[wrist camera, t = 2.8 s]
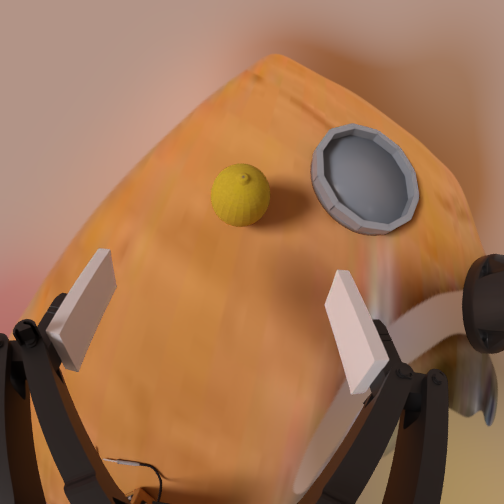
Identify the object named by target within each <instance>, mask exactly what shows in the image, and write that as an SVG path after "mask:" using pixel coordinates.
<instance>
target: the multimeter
mask: <svg viewBox="0 0 504 504" xmlns="http://www.w3.org/2000/svg"><path fill="white" fill-rule="evenodd" d="M104 460H107V461H113V462H117V464H125V465H133V466H140V465H141V466H147V467H150V468H152V469H153V470H154V471H155V472H156V474H157V476H158V478H159V481H160V489H159V495H158V499H157V502H159V501H160V497H161V492H162V480H161V477H160V475H159V473H158V472H157V470H156V469H155V468H154V467H152V466H151V465H147V464H141V463H137V462H131V461H123V460H119V459H117V461H116V460H110V459H104ZM125 496H126V497H127V498H128V500H129V501H130V502H131V504H152V501H156V500H154V499H153V498H152V497H151V496H150V495H148V494H147V493H146V492H145V491H144V490H143V489H141V488H138V489H135V490H134V491H132V492H130V493H128V494H126V495H125Z"/></svg>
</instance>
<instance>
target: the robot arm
mask: <svg viewBox="0 0 504 504" xmlns="http://www.w3.org/2000/svg"><path fill="white" fill-rule="evenodd" d="M116 287H117V285H116V280H115V275H114V269H113V264H112V258H111V251H110V249H101V248H99V249H98V250H97V252H96V253H95V254H94V256H93V257H92V259H91V260H90V261H89V263H88V264H87V266H86V267H85V269H84V270H83V272H82V273H81V274H80V276H79V277H78V279H77V280H76V282H75V283H74V285H73V287H72V288H71V290H70V291H69V293H68V294H66V293H61V294H60V295H59V296H57V297H56V298H55V299H54V301H53V302H52V304H51V305H50V307H49V308H48V310H47V312H46V313H45V315H44V316H43V318H42V320H41V321H40V323H39V325H38V326H36V324H35V322H34V321H33V320H30V319H25V320H22V321H20V322H18V323H17V324H16V325H15V327H14V329H13V335H14V337H15V338H16V340H13V341H9V339H8V337H7V336H6V335H5V334H2V333H0V504H46V501H45V497H44V493H43V489H42V485H41V480H40V476H39V471H38V466H37V460H36V454H35V448H34V440H33V432H32V422H31V410H30V393H31V397H32V401H33V404H34V407H35V411H36V414H37V417H38V420H39V423H40V426H41V428H42V431H43V434H44V437H45V439H46V442H47V444H48V447H49V449H50V452H51V454H52V457H53V459H54V461H55V463H56V466H57V468H58V470H59V472H60V474H61V476H62V478H63V480H64V483H65V486H64V491H65V494H66V496H67V498H68V500H69V502H70V503H71V504H131V502H130V501H129V500H128V498H127V497H126V496H125V494H124V493H123V492H122V491H121V490H120V489H119V488H118V486H117V485H116V483H115V482H114V480H113V479H112V477H111V476H110V474H109V472H108V471H107V469H106V467H105V466H104V464H103V462H102V460H101V459H100V457H99V455H98V453H97V451H96V450H95V448H94V446H93V444H92V442H91V440H90V438H89V436H88V434H87V432H86V430H85V428H84V426H83V424H82V422H81V419H80V417H79V415H78V413H77V410H76V408H75V406H74V403H73V401H72V399H71V396H70V394H69V391H68V389H67V386H66V383H65V381H64V378H63V375H62V372H61V370H60V368H59V367H60V364H61V362H62V363H63V365H64V367H65V368H66V369H69V370H72V371H76V372H79V369H80V367H81V364H82V362H83V359H84V357H85V354H86V352H87V350H88V347H89V345H90V343H91V340H92V338H93V336H94V334H95V331H96V329H97V327H98V325H99V323H100V320H101V318H102V316H103V314H104V312H105V310H106V308H107V306H108V304H109V302H110V299H111V297H112V295H113V293H114V291H115V289H116ZM325 308H326V311H327V314H328V317H329V321H330V324H331V327H332V330H333V333H334V337H335V340H336V343H337V347H338V350H339V353H340V357H341V360H342V364H343V367H344V371H345V374H346V378H347V381H348V385H349V388H350V392H351V394H359V393H365V392H366V391H367V389H368V388H369V387H370V389H371V392H372V393H371V394H370V396H369V397H368V398H367V399H366V400H365V402H364V403H363V404H365V405H364V406H363V408H362V410H361V412H360V414H359V415H358V417H357V419H356V421H355V422H354V424H353V426H352V427H351V429H350V431H349V432H348V434H347V436H346V437H345V439H344V440H343V442H342V443H341V445H340V447H339V448H338V450H337V451H336V453H335V454H334V456H333V457H332V459H331V460H330V462H329V463H328V464H327V466H326V467H325V469H324V470H323V472H322V473H321V474H320V476H319V477H318V478H317V480H316V481H315V482H314V484H313V485H312V486H311V488H310V489H309V490H308V492H307V493H306V494H305V495H304V497H303V498H302V499H301V500H300V501H299V502H298V503H297V504H355V503H356V501H357V499H358V497H359V496H360V494H361V493H362V491H363V489H364V488H365V486H366V484H367V483H368V481H369V479H370V477H371V475H372V474H373V472H374V470H375V468H376V466H377V464H378V463H379V460H380V459H381V457H382V455H383V453H384V451H385V449H386V447H387V445H388V442H389V440H390V438H391V436H392V434H393V432H394V429H395V427H396V425H397V422H398V420H399V418H400V422H399V429H398V435H397V441H396V447H395V452H394V457H393V462H392V467H391V471H390V476H389V479H388V484H387V487H386V491H385V495H384V499H383V502H382V504H440V500H441V494H442V488H443V481H444V474H445V465H446V455H447V441H448V381H447V377H446V375H445V374H444V373H443V372H442V371H440V370H438V369H431V370H430V371H429V372H428V373H427V374H421V373H415V372H414V371H413V370H412V368H411V367H410V366H409V365H407V364H406V363H403V362H401V359H400V358H399V355H398V353H397V351H396V348H395V346H394V344H393V341H391V340H392V339H391V337H390V335H389V333H388V331H387V329H386V326H385V325H384V324H383V323H382V322H381V321H380V320H372V318H371V316H370V314H369V312H368V310H367V307H366V305H365V303H364V301H363V299H362V297H361V295H360V293H359V290H358V288H357V286H356V284H355V282H354V280H353V278H352V276H351V274H350V272H349V271H347V270H337V271H336V274H335V277H334V280H333V283H332V286H331V289H330V291H329V294H328V297H327V300H326V302H325ZM462 311H463V321H464V327H465V331H466V335H467V337H468V340H469V342H470V343H471V345H472V346H473V348H474V349H475V350H477V351H478V352H480V353H489V354H493V353H499V352H501V351H503V350H504V255H499V254H491V255H487V256H484V257H481V258H479V259H477V260H476V261H475V262H474V263H473V265H472V266H471V268H470V270H469V272H468V274H467V277H466V281H465V285H464V290H463V300H462ZM152 504H168V503H162V502H156V501H152Z"/></svg>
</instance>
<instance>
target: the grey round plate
mask: <svg viewBox="0 0 504 504" xmlns="http://www.w3.org/2000/svg"><path fill="white" fill-rule="evenodd" d="M414 171H415V170H414V168H413V167H412V165H411V164H410V162H409V160H408V159H407V157H406V155H405V154H404V152H403V151H402V149H401V148H400V147H399V146H398V145H397V144H395V143H394V142H393V141H392V140H390V139H389V138H388V137H386V136H385V135H384V134H382V133H381V132H380V131H378V130H376V129H372V128H368V127H365V126H361V125H357V124H348V125H344V126H340V127H336V128H332V129H330V130H329V131H328V133H327V134H326V135H325V137H324V138H323V139H322V141H321V142H320V143H319V145H318V146H317V148H316V149H315V151H314V153H313V158H312V162H311V171H310V173H311V181H312V186H313V189H314V191H315V194H316V196H317V198H318V200H319V202H320V203H321V205H322V206H323V208H324V209H325V210H326V211H327V213H328V214H329V215H330V216H331V217H332V218H333V219H334V220H336V221H337V222H338V223H339V224H341V225H342V226H344V227H345V228H347V229H349V230H351V231H353V232H356V233H359V234H363V235H371V236H374V235H381V234H382V235H385V234H386V233H388V232H390V231H392V230H394V229H395V228H397V227H399V226H401V225H403V224H404V223H406V222H408V221H410V220H411V219H412V216H413V213H414V211H415V208H416V206H417V203H418V200H419V191H418V185H417V179H416V173H415V172H414Z"/></svg>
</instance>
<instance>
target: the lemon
mask: <svg viewBox="0 0 504 504" xmlns="http://www.w3.org/2000/svg"><path fill="white" fill-rule="evenodd" d="M211 202H212V207H213V209H214V211H215V213H216V215H217V216H218V217H219V218H220V219H221V220H222V221H224V222H225V223H227V224H229V225H232V226H236V227H243V226H248V225H251V224H253V223H255V222H256V221H258V220H259V219H260V218H261V217H262V216H263V215H264V213H265V212H266V210H267V208H268V205H269V202H270V188H269V183H268V181H267V179H266V177H265V176H264V174H263V173H262V172H261V171H260V170H259V169H257V168H256V167H254V166H251V165H248V164H235V165H231V166H229V167H227V168H225V169H224V170H223V171H222V172H220V173H219V175H218V176H217V178H216V179H215V181H214V184H213V186H212V189H211Z"/></svg>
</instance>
